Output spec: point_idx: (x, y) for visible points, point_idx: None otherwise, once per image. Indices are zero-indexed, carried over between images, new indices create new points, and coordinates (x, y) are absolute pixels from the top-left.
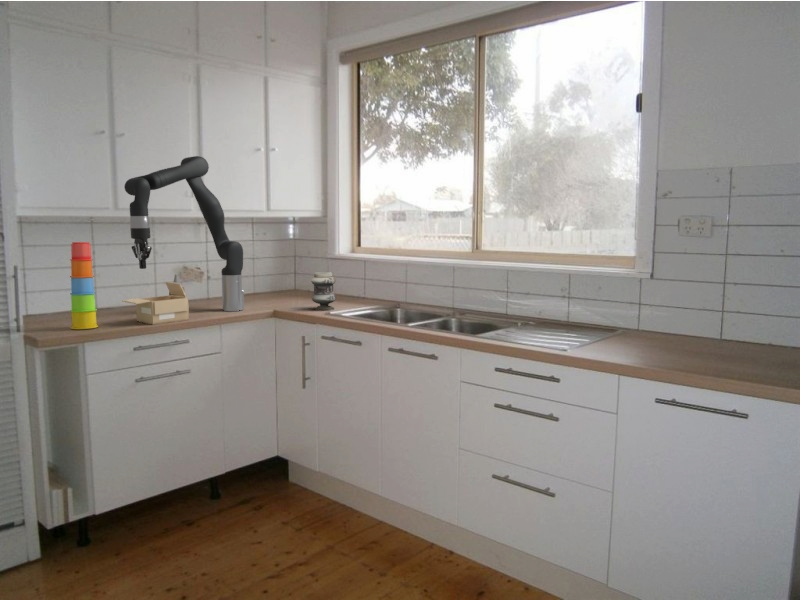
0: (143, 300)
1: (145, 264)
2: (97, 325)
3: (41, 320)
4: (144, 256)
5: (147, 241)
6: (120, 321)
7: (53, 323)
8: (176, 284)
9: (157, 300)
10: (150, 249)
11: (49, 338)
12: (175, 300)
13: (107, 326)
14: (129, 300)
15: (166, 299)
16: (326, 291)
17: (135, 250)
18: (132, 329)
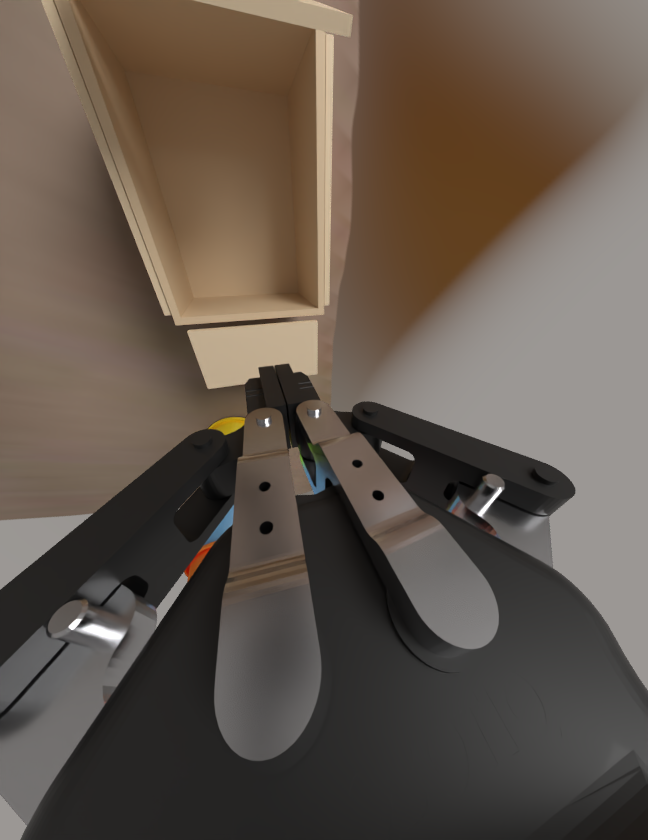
0: (290, 336)
1: (312, 387)
2: (239, 420)
3: (11, 501)
4: (389, 452)
5: (620, 650)
6: (156, 345)
7: (104, 481)
8: (287, 20)
9: (136, 175)
10: (521, 467)
11: (309, 484)
12: (330, 169)
13: (242, 398)
14: (238, 371)
15: (99, 66)
16: None
17: (165, 579)
18: (328, 368)
